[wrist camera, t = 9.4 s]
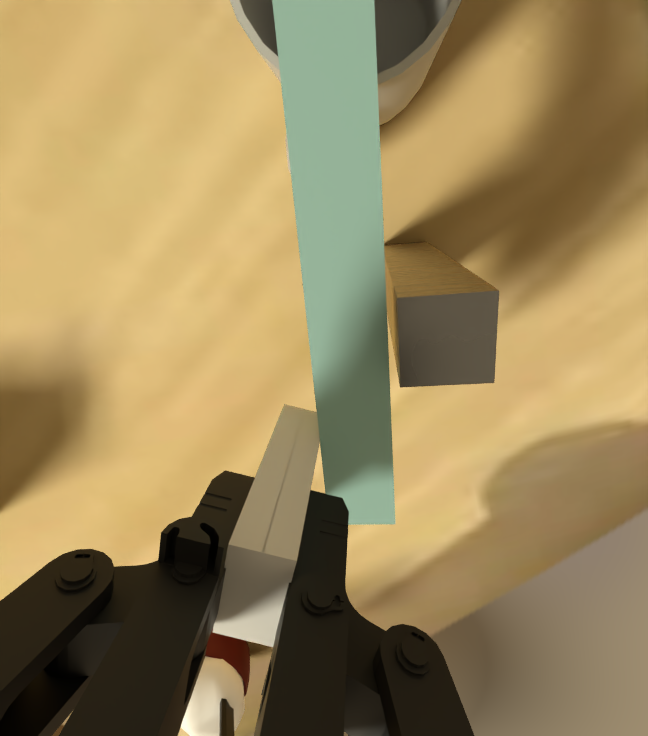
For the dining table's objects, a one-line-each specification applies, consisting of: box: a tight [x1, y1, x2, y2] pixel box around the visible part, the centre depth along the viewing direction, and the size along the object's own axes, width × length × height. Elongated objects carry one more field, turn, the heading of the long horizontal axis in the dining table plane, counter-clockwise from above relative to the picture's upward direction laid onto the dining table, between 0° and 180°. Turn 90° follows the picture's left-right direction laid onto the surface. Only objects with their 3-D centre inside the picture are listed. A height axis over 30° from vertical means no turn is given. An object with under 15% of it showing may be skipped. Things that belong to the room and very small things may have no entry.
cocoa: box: [181, 626, 250, 736], centre depth 30 cm, size 10×6×12 cm, turn 90°
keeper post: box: [384, 242, 499, 387], centre depth 17 cm, size 2×2×14 cm
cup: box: [230, 0, 461, 174], centre depth 16 cm, size 7×10×9 cm
